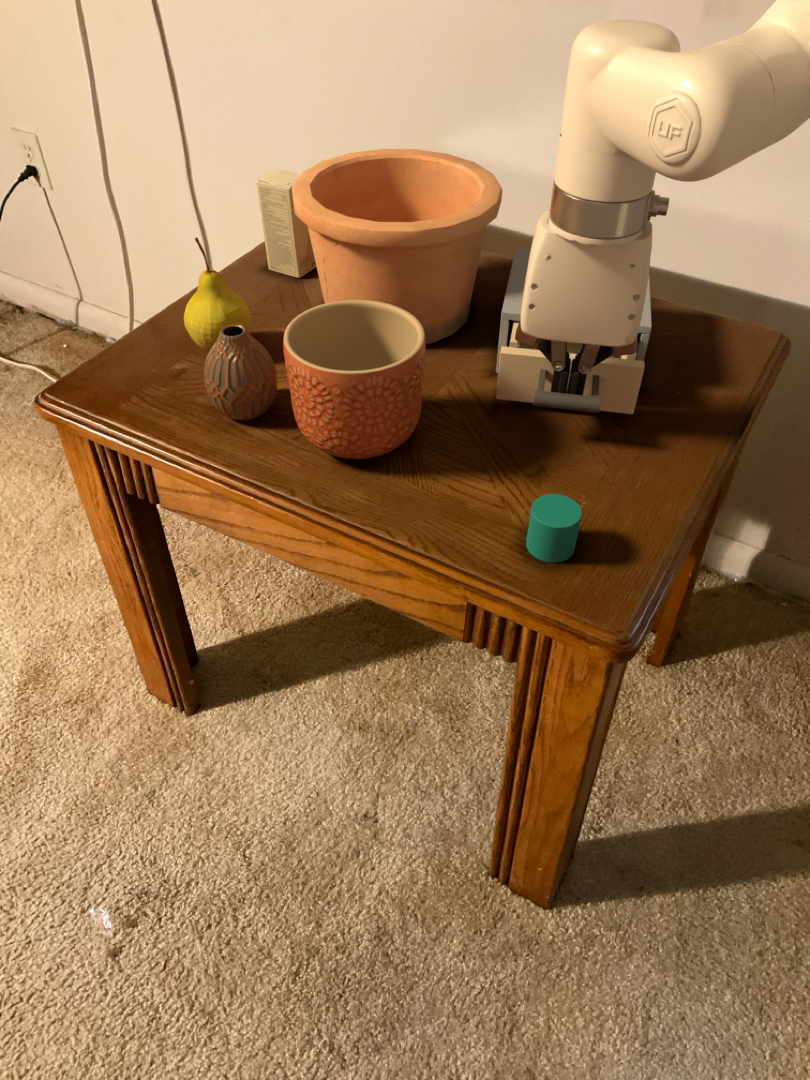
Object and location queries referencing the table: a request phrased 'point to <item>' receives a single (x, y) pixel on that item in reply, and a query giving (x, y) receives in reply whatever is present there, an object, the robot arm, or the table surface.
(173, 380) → the table surface
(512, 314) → the grey cabinet
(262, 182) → the box
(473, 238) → the pottery
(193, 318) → the fruit
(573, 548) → the cylinder
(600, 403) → the drawer
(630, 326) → the robot arm
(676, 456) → the table surface
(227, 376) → the vase
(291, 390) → the planter
